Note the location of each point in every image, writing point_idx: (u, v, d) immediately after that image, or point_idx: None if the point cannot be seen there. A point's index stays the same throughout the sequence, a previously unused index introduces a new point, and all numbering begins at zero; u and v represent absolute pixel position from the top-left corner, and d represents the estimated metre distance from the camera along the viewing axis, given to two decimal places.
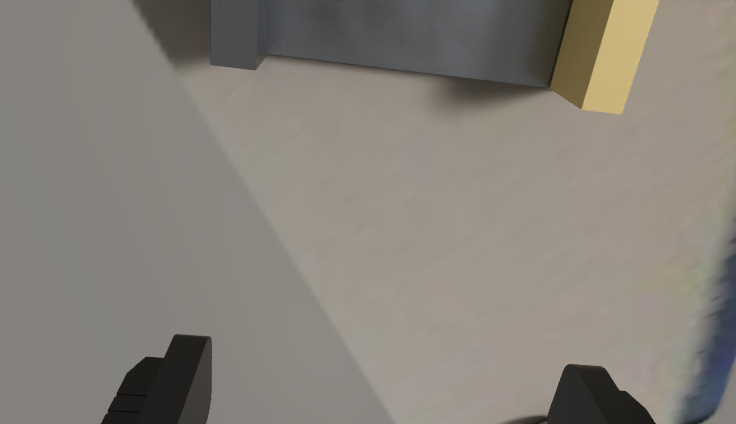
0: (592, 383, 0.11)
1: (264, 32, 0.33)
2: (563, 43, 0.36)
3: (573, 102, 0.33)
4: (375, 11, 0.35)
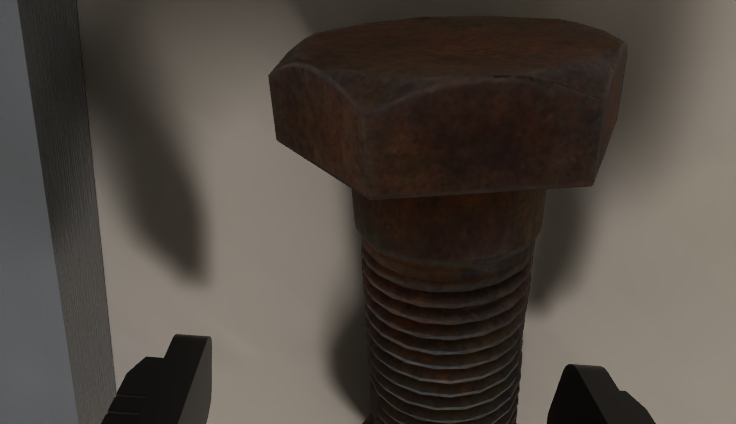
0: (592, 383, 0.11)
1: None
2: None
3: None
4: None
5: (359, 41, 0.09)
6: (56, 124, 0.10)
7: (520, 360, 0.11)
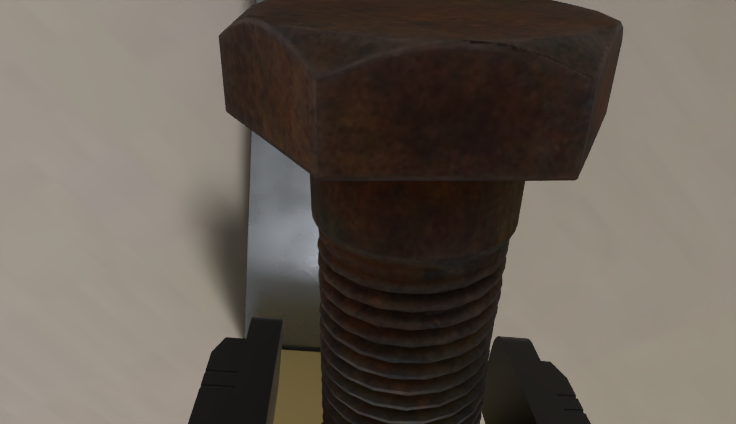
0: (515, 353, 0.12)
1: None
2: (301, 354, 0.28)
3: None
4: None
5: (325, 5, 0.08)
6: None
7: (486, 372, 0.10)
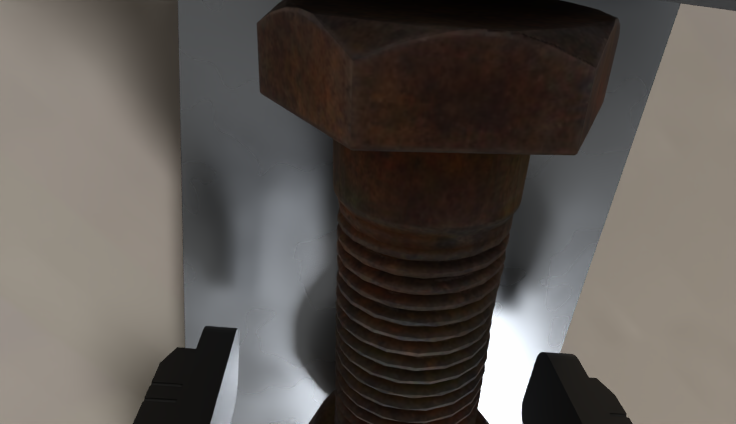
0: (562, 370, 0.12)
1: None
2: None
3: None
4: (327, 255, 0.13)
5: None
6: None
7: (488, 341, 0.11)
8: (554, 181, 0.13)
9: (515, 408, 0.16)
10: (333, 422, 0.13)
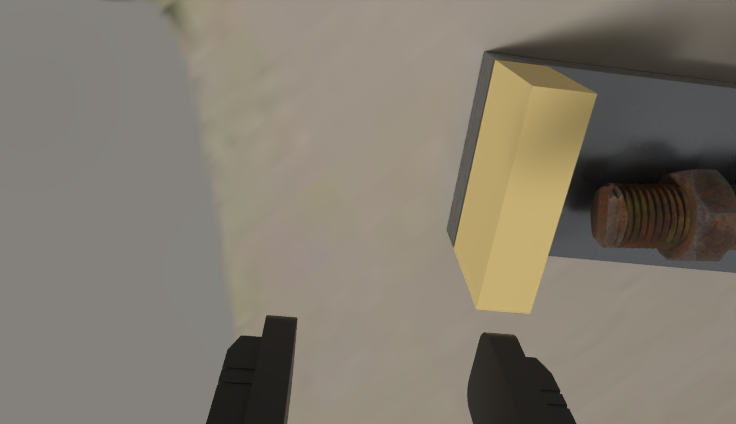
0: (500, 349, 0.12)
1: None
2: None
3: None
4: None
5: None
6: None
7: None
8: None
9: (639, 252, 0.30)
10: None
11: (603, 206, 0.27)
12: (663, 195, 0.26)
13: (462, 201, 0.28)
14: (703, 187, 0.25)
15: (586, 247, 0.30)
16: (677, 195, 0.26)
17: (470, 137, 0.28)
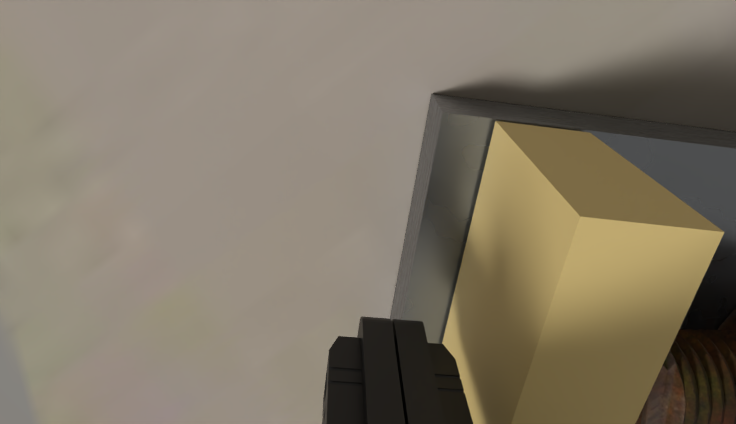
0: (403, 334, 0.12)
1: None
2: None
3: None
4: None
5: None
6: None
7: None
8: None
9: None
10: None
11: None
12: None
13: None
14: None
15: None
16: None
17: (410, 235, 0.17)
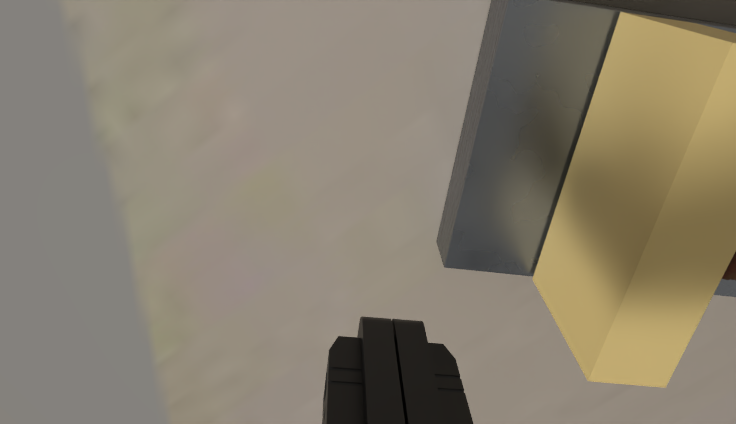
0: (403, 334, 0.12)
1: None
2: None
3: None
4: None
5: None
6: None
7: None
8: None
9: None
10: None
11: None
12: None
13: (458, 205, 0.20)
14: None
15: None
16: None
17: (471, 114, 0.20)
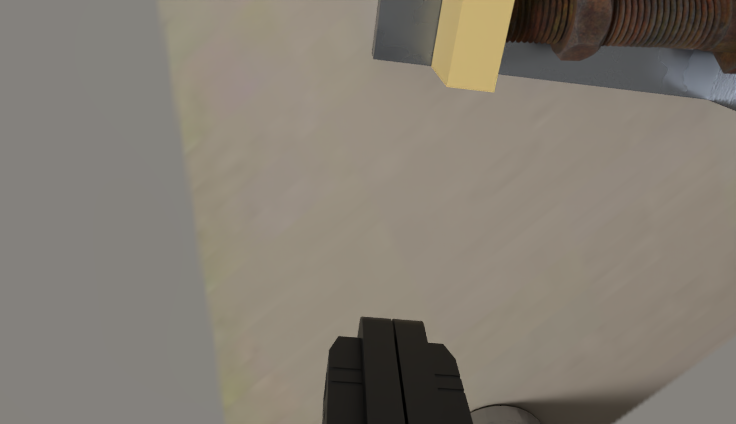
0: (403, 334, 0.12)
1: None
2: None
3: None
4: None
5: None
6: None
7: (652, 46, 0.30)
8: (654, 67, 0.34)
9: (542, 67, 0.33)
10: None
11: None
12: None
13: (379, 11, 0.32)
14: None
15: None
16: None
17: None
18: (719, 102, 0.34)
